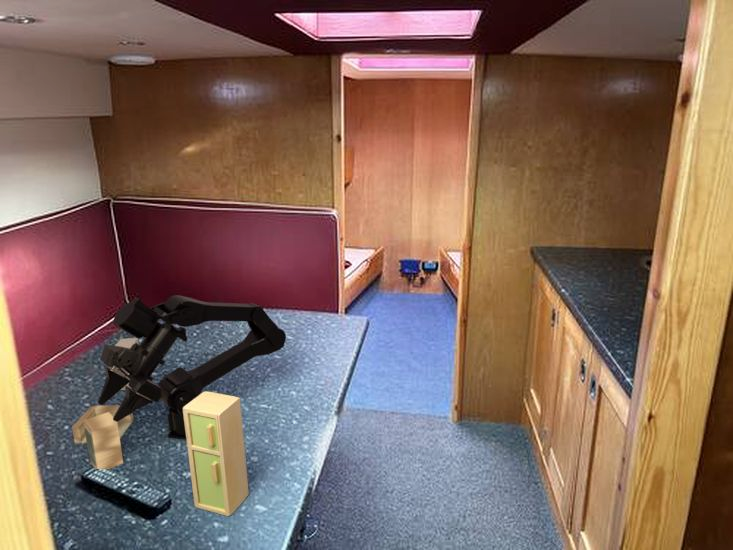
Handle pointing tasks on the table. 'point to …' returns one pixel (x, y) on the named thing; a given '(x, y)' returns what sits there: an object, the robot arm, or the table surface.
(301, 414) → the table surface
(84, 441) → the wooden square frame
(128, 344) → the ink box
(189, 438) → the toy refrigerator
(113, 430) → the maple block
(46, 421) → the table surface
